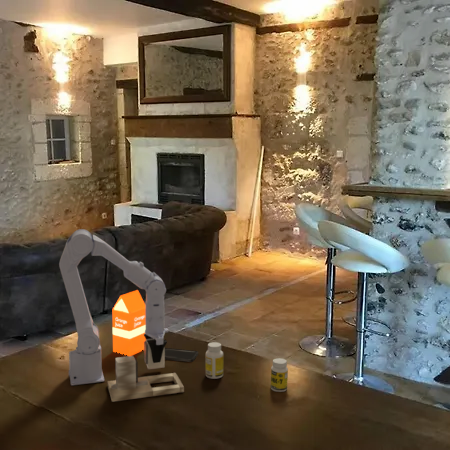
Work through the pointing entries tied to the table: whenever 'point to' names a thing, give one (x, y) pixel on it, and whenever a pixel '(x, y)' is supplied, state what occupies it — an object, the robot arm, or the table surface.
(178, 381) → the beige piece
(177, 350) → the phone
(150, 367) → the off-white rectangular block
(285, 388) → the supplement bottle
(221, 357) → the supplement bottle
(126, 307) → the orange juice
